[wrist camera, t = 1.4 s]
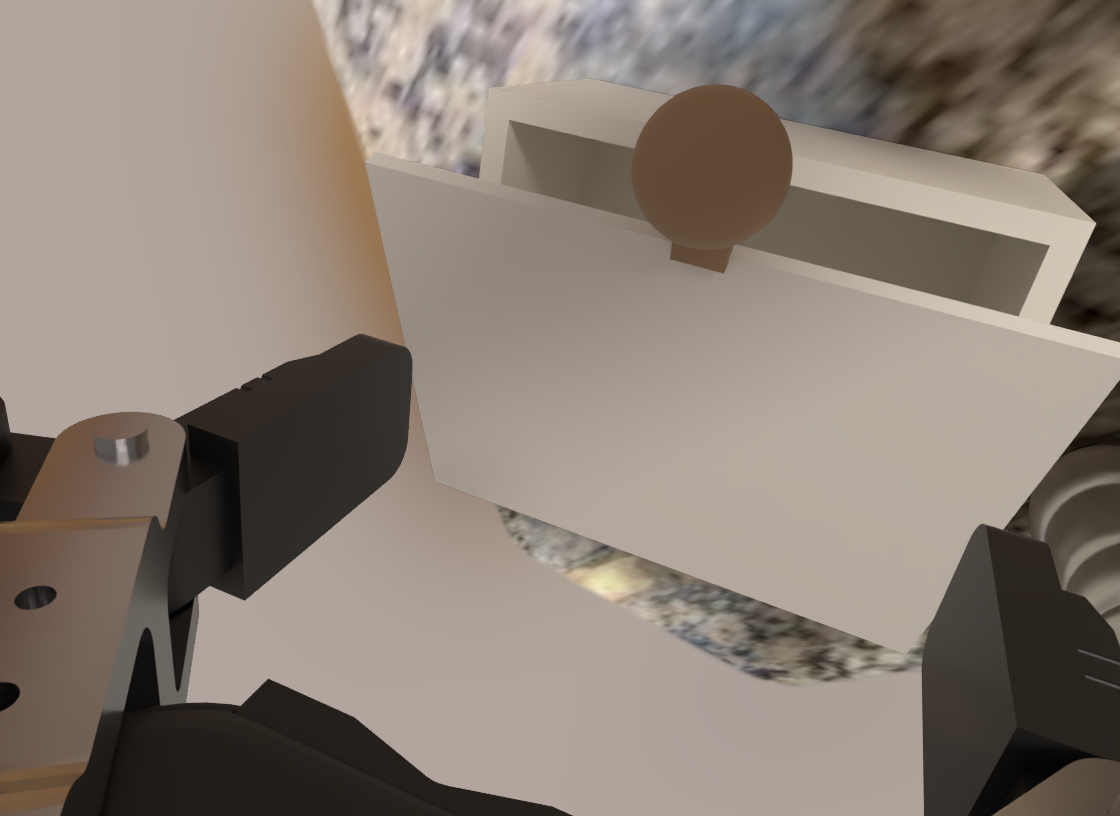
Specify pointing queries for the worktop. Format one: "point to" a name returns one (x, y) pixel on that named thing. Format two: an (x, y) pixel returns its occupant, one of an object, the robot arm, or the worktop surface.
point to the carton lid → (721, 377)
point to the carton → (818, 197)
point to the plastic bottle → (1083, 525)
